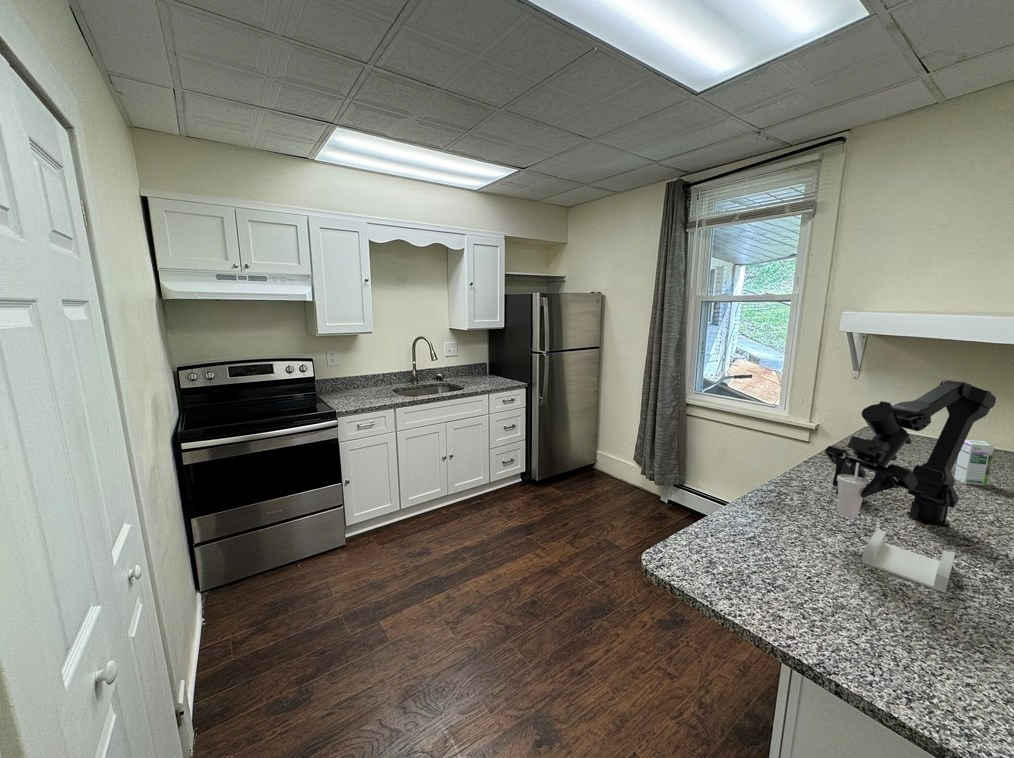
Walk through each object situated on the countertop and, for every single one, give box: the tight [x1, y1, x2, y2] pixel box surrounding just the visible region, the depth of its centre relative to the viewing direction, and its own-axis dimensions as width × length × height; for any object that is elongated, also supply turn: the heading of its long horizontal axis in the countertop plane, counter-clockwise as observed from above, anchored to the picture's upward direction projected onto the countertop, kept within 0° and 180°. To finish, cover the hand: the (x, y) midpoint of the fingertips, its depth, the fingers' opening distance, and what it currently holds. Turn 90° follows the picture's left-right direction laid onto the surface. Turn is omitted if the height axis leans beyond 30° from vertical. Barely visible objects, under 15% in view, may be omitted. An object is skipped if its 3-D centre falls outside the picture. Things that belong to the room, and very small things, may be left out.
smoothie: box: [837, 463, 870, 519], centre depth 105 cm, size 6×6×14 cm
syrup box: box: [954, 439, 995, 487], centre depth 141 cm, size 6×6×14 cm
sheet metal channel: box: [861, 528, 956, 594], centre depth 95 cm, size 14×14×4 cm
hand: (847, 490), depth 104 cm, fingers closed on smoothie, 6 cm apart
